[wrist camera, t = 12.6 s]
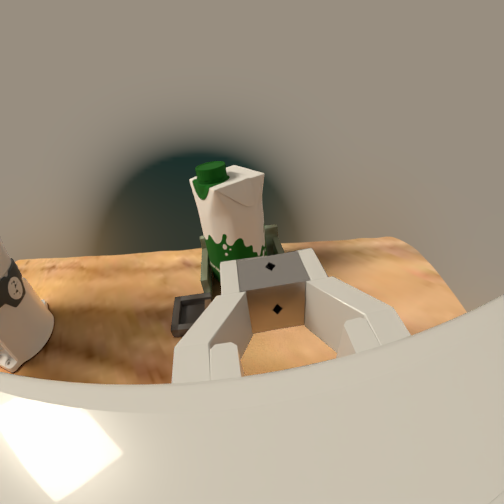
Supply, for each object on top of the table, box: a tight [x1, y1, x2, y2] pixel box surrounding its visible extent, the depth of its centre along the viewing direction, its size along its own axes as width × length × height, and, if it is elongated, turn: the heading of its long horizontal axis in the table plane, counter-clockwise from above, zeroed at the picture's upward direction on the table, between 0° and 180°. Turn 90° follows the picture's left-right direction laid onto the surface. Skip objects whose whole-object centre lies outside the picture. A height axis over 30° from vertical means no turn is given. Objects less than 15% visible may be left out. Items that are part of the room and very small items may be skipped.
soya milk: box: [190, 161, 268, 283], centre depth 41 cm, size 9×9×20 cm
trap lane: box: [171, 225, 284, 337], centre depth 43 cm, size 23×17×6 cm
